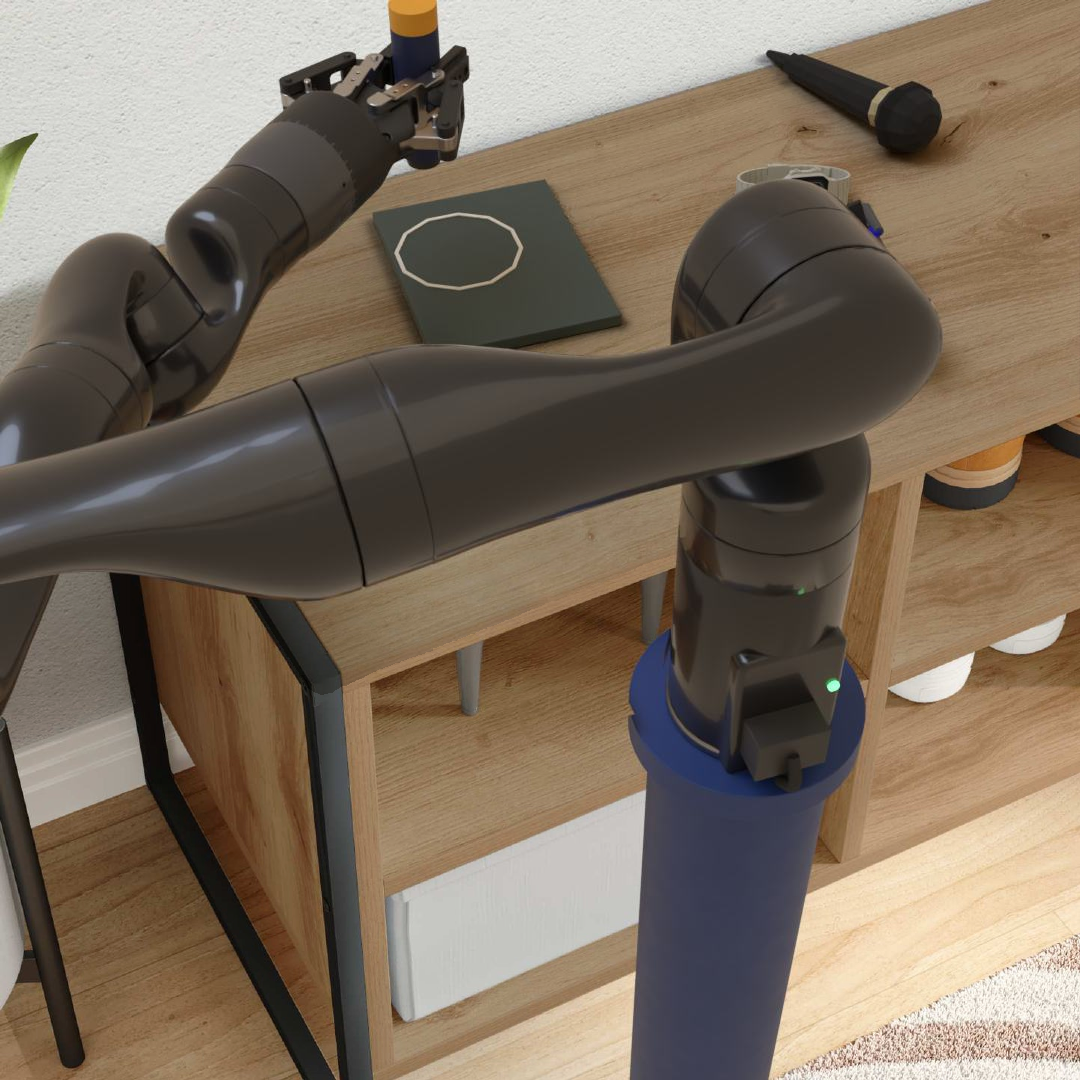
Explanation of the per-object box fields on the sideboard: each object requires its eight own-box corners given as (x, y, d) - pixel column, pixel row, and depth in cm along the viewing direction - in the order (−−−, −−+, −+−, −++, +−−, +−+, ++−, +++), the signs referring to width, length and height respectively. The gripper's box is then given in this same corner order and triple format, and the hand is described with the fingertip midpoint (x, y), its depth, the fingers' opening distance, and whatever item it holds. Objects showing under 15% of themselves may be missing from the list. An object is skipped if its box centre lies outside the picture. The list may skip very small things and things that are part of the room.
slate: (621, 325, 113) (621, 313, 112) (432, 365, 110) (431, 353, 109) (545, 189, 125) (545, 177, 124) (373, 222, 122) (371, 211, 121)
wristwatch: (746, 243, 119) (751, 187, 116) (720, 197, 124) (724, 142, 120) (860, 225, 121) (868, 169, 117) (830, 180, 125) (838, 125, 121)
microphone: (753, 97, 139) (911, 177, 126) (736, 44, 135) (898, 121, 122) (799, 61, 140) (961, 137, 127) (784, 7, 136) (950, 80, 122)
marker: (451, 168, 111) (442, 9, 102) (407, 176, 110) (394, 17, 102) (439, 145, 113) (429, -13, 104) (396, 153, 113) (382, -5, 104)
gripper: (393, 154, 93) (528, 23, 104) (198, 98, 98) (346, -22, 108) (403, 258, 98) (530, 124, 109) (217, 200, 103) (356, 77, 114)
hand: (437, 52), depth 108 cm, fingers closed on marker, 3 cm apart
